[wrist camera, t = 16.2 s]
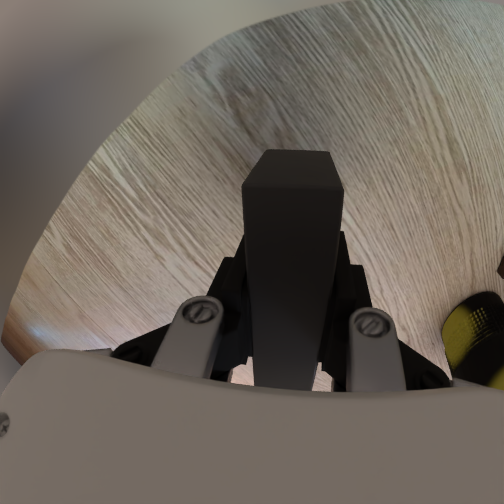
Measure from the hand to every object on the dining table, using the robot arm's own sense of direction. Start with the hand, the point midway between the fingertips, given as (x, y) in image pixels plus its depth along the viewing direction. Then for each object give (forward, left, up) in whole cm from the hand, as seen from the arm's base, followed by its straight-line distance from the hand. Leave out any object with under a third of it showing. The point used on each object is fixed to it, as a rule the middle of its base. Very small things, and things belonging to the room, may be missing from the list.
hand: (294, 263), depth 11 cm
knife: (+5, 0, 0) cm, 5 cm away
